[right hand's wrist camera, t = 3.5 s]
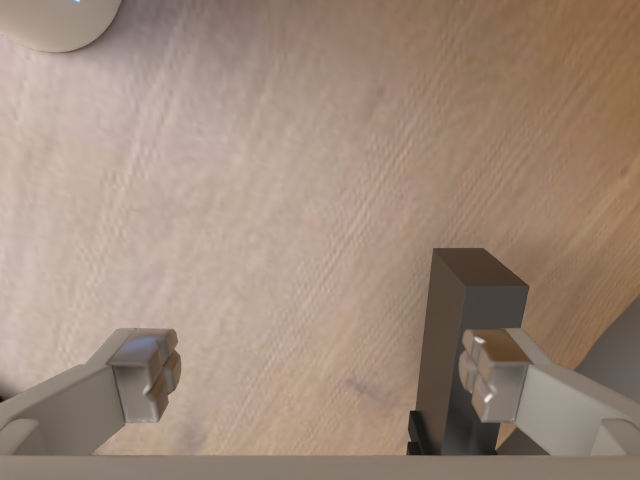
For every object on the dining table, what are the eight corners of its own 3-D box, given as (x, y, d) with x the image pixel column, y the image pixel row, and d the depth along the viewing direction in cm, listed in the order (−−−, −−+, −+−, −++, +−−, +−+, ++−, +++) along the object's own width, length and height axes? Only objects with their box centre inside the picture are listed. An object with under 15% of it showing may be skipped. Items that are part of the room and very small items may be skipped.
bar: (433, 248, 35) (465, 286, 27) (483, 247, 35) (529, 286, 28) (411, 445, 43) (431, 516, 36) (452, 445, 43) (481, 516, 36)
